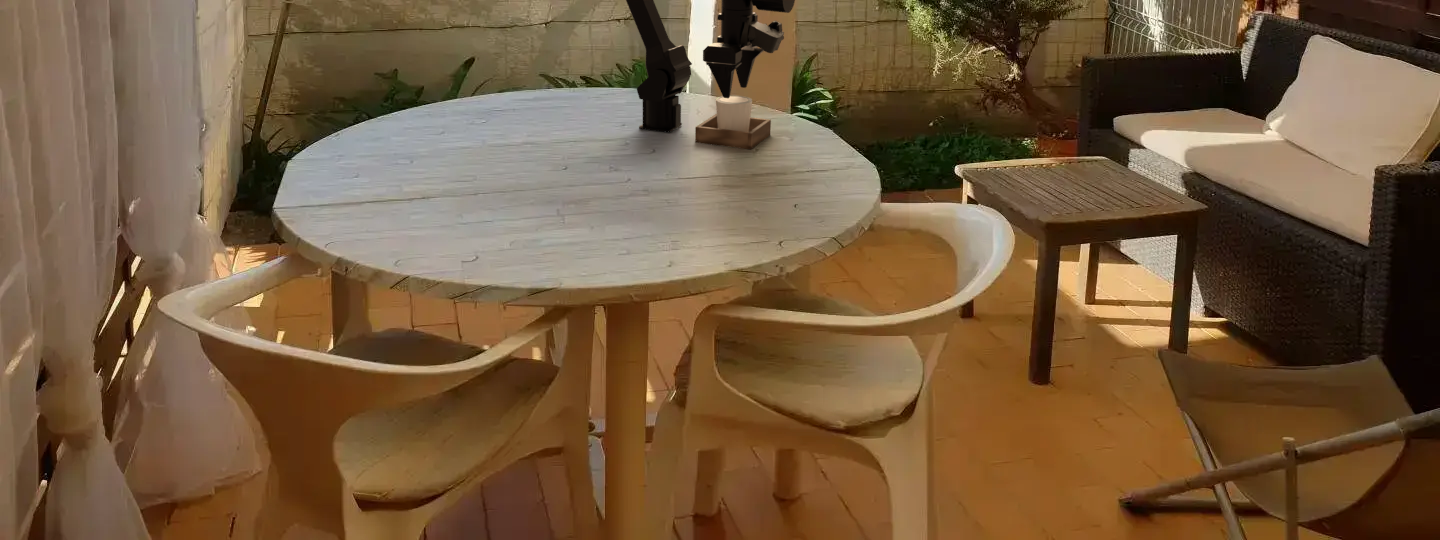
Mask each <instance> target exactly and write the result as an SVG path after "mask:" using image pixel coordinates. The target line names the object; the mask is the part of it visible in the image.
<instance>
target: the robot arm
mask: <svg viewBox="0 0 1440 540" xmlns="http://www.w3.org/2000/svg"><path fill="white" fill-rule="evenodd" d="M625 1H626V4H627V6H628V10H629V12H630V14H631V16H632V18H633V19H632V20H633V22H634V24H635V26H636V29H637V31H638V34H639V35H640V38H641V41H642V43H643V46H644V50H645V63H644V64H645V65H644V66H645V69H646V74H647V77H646V78H645V79H644V81H643V82H641V84H640V85H638V86H637V88H636V92H637V95H638V98H639V99H640V100H642V124H640V125H639V126H638V129H639V130H644V131H653V132H662V133H671V132H673V131H675V130H676V129H678V128H680V127H682V126H683V125H682V124H683V123H682V105H681V103H680V102H679V101H680V100H679V99H680V98H679V97H680V96H679V94H682V92H683V89H684V86H685V85H687V84H688V82H689V81H690V78H691V76H692V69H691V66H692V65H693V63H692V62H691V61H690V59H689V58H688V55H687V50H686V47H685V46H684V44H680V45H678V46H676V44H674V43H673V42H672V41H671V39H670V37H669V36H668V33H667V30H666V28H665V26H664V23H663V21H662V18H661V16H660V14H659V10H658V8H657V6H656V3H655V0H625ZM795 1H796V0H721V9H720V12H719V13H717V21H720V35H718V36H717V37H716V42H713V43H711V44H709V45H707V46H706V47H705V48H703V50H702V61H703V62H705V64H706V66H708V68H709V69H710V72H711V74H712V75H713V77H714V79H715V82H716V84H717V86H718V88H719V90H720V93H721V96H723V97H724V98H729V97H730V95H731V93H732V86H733V82H734V74H735V72H736V76H737V79H738V83H739V86H740V88H742V89H743V88H744V89H746V88H747V86H748V84H749V80H750V77H751V74H752V70H753V67H754V63H755V60H756V59H757V57H758V56H760V55H761V54H762V53H764V52H765V53H768V54H773V53H775V52H776V51H778V50H779V48H780V45H781V42H782V41H783V40H784V39H785V36H784V34H785V32H784V31H783V24H782V22H779V21H777V20H774V21H771V22H770V24H767V23H762V22H760V21H758V17H759V16H758V14H757V12H754V7H755V8H756V9H757V10H758V11H764V12H775V13H786V14H789V13H791V11H793V8H794V5H795Z"/></svg>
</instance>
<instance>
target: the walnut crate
mask: <svg viewBox="0 0 1440 540" xmlns="http://www.w3.org/2000/svg"><path fill="white" fill-rule="evenodd" d="M771 125H772V119H767V118H759V117H751V116H750V125H749V132H743V131H735V130H726V129H718V124H717V113H715V114H713V115H711V116H710V117H709V118H707V119H706V120H704V121H703V122H700V123H699V124H698V125H696V126H695V128H694V129H695V131H694V132H695V133H694V135H695V138H694V139H695V140H694V143H696V144H702V145H711V144H712V145H713V146H719V147H727V148H729V147H730V148H736V149H746V150H753V149H754V148H755V147H757V146H758V145H760V144H761V143H762V142H763V141H764V140H766V139H767V138H768V137H770V136H771V127H772V126H771Z"/></svg>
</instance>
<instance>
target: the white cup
mask: <svg viewBox="0 0 1440 540" xmlns="http://www.w3.org/2000/svg"><path fill="white" fill-rule="evenodd" d="M752 106H753V99H752V98H751V97H748V96H745V95H744V96H743V95H731V94H730V97H729V98H724V97H723V95H721V96H718V97H717V98H715V108H716V109H715V110H716V114H717V124H718V129H726V130H735V131H743V132H749V125H750V117H751V115H752V108H753V107H752Z"/></svg>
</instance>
